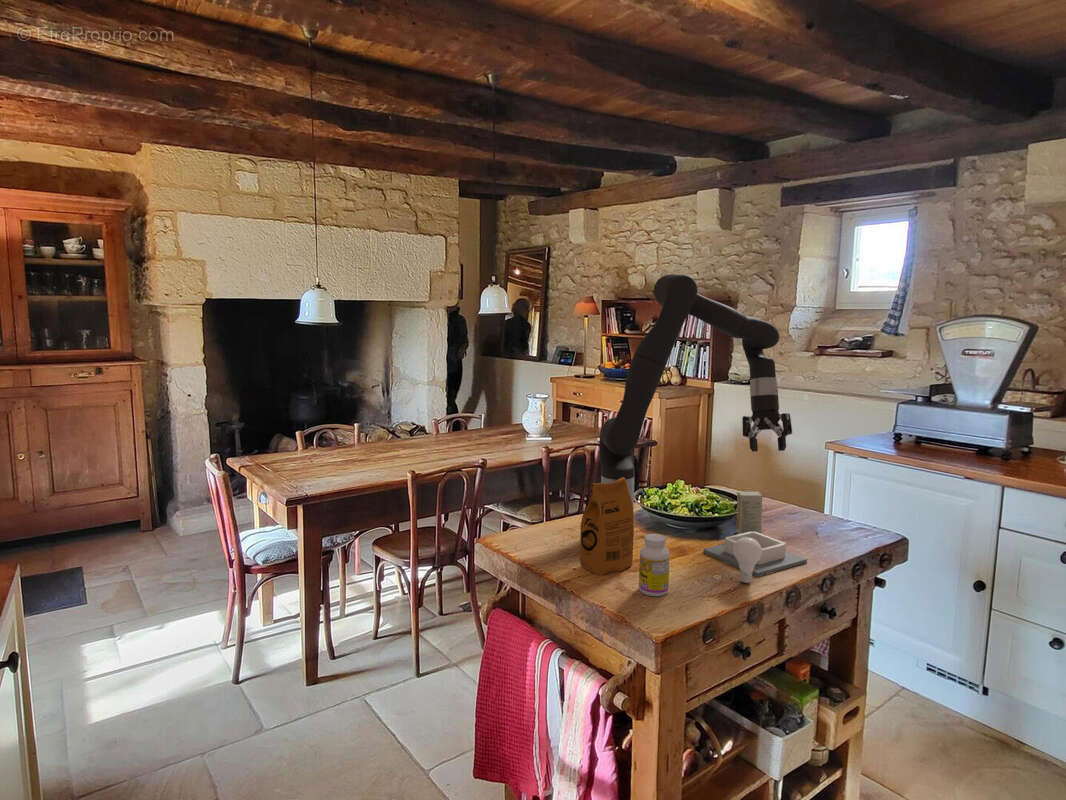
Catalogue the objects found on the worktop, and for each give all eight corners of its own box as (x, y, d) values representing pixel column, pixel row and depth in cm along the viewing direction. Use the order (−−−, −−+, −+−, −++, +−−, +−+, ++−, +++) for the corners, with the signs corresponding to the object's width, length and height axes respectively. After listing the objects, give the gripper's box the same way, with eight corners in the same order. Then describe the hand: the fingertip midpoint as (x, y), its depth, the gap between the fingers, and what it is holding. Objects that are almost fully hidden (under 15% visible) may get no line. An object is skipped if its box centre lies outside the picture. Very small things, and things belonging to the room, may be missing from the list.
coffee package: (573, 564, 165) (575, 479, 161) (613, 555, 171) (615, 472, 168) (597, 578, 156) (599, 489, 153) (638, 568, 163) (640, 481, 159)
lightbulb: (745, 590, 150) (748, 544, 148) (725, 580, 156) (728, 535, 154) (765, 585, 153) (768, 540, 151) (745, 575, 158) (747, 531, 157)
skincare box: (757, 532, 189) (760, 491, 187) (761, 537, 184) (763, 495, 183) (734, 531, 189) (736, 490, 187) (737, 536, 185) (740, 494, 183)
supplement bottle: (635, 585, 152) (637, 532, 151) (663, 584, 153) (665, 531, 151) (642, 598, 146) (644, 542, 144) (671, 597, 146) (674, 542, 145)
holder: (757, 576, 158) (758, 559, 157) (703, 552, 173) (704, 536, 172) (806, 562, 166) (808, 545, 166) (751, 540, 182) (752, 525, 181)
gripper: (734, 396, 191) (738, 452, 190) (779, 391, 180) (783, 451, 179) (749, 396, 196) (753, 451, 194) (794, 392, 185) (798, 450, 183)
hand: (768, 451), depth 187 cm, fingers open, 8 cm apart
